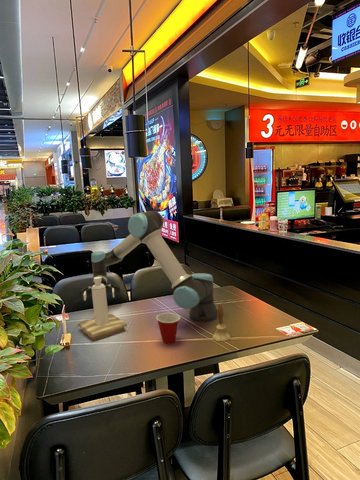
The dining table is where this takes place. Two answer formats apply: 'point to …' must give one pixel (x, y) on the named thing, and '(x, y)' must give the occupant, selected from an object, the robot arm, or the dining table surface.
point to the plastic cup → (168, 326)
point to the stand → (102, 327)
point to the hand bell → (221, 327)
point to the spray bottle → (100, 302)
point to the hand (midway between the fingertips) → (99, 296)
